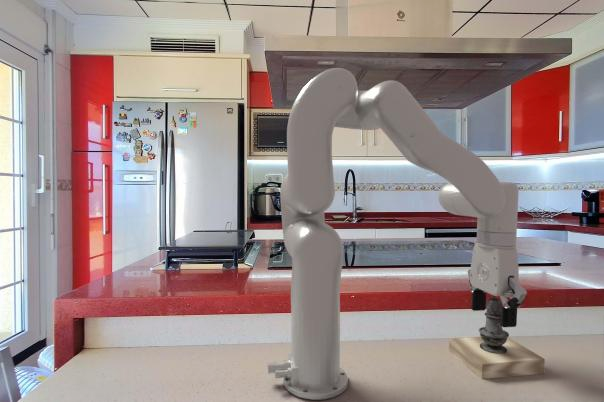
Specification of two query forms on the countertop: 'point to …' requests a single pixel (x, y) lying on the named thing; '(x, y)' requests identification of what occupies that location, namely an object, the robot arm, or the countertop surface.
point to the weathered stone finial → (493, 328)
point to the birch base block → (496, 358)
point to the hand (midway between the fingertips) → (492, 317)
